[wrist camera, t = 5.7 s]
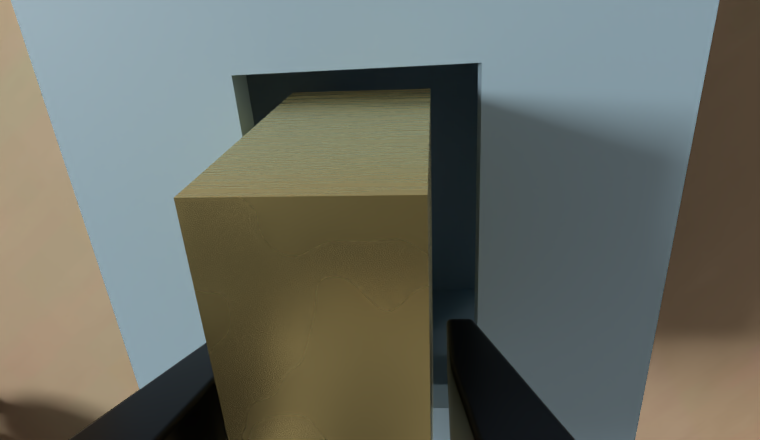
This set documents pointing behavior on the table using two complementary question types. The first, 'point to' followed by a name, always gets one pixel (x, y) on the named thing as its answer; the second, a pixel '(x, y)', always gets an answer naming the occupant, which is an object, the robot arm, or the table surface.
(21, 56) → the table surface
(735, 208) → the table surface
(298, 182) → the yellow rectangular block
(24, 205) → the table surface
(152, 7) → the tissue box
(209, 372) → the robot arm
